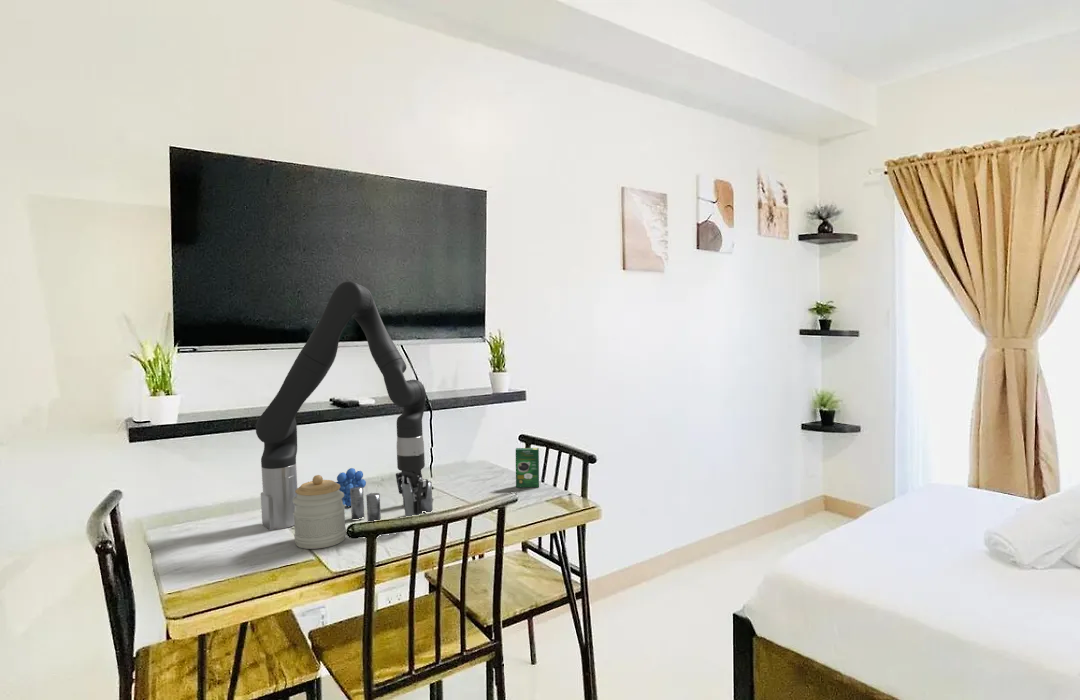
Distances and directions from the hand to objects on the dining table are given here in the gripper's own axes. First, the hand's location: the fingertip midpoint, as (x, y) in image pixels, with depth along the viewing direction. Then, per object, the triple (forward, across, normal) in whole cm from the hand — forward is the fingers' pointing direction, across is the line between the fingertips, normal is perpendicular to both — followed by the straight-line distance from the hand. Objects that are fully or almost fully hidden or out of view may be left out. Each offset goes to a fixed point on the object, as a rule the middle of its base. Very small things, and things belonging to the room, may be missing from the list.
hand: (413, 511), depth 181 cm
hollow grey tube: (+2, 0, 0) cm, 2 cm away
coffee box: (+4, -5, +47) cm, 48 cm away
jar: (+4, -7, -24) cm, 25 cm away
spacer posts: (+4, -12, 0) cm, 12 cm away
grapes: (+4, -31, -5) cm, 32 cm away
